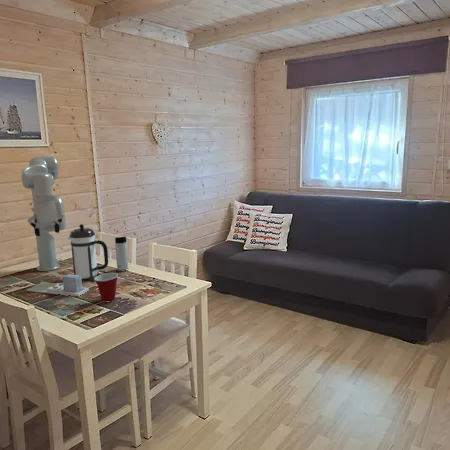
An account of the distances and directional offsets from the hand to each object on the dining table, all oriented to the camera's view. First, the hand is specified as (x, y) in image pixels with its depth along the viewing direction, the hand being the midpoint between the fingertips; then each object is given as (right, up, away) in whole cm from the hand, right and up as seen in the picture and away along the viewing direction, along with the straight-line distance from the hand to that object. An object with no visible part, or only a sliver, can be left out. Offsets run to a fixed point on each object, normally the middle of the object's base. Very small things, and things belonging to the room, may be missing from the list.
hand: (47, 234), depth 196 cm
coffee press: (+13, -25, +22) cm, 35 cm away
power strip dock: (+9, -29, +2) cm, 30 cm away
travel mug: (+28, -22, +35) cm, 50 cm away
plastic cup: (+32, -31, -9) cm, 46 cm away
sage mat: (-5, -28, +8) cm, 29 cm away
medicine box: (+12, -29, +1) cm, 32 cm away
